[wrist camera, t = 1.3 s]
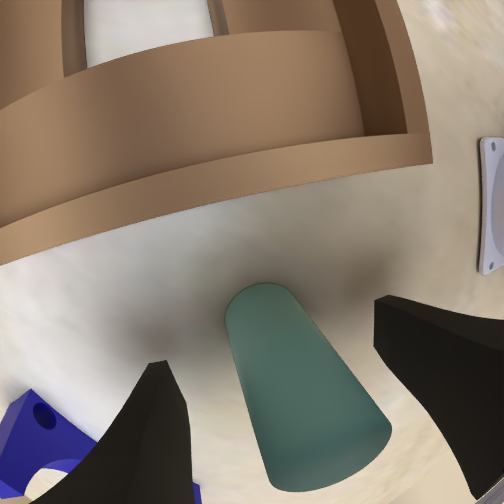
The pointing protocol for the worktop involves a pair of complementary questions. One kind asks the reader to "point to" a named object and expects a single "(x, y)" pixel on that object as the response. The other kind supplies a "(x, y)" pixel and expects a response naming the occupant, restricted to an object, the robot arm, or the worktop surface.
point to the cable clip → (40, 444)
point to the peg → (300, 393)
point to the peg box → (196, 113)
